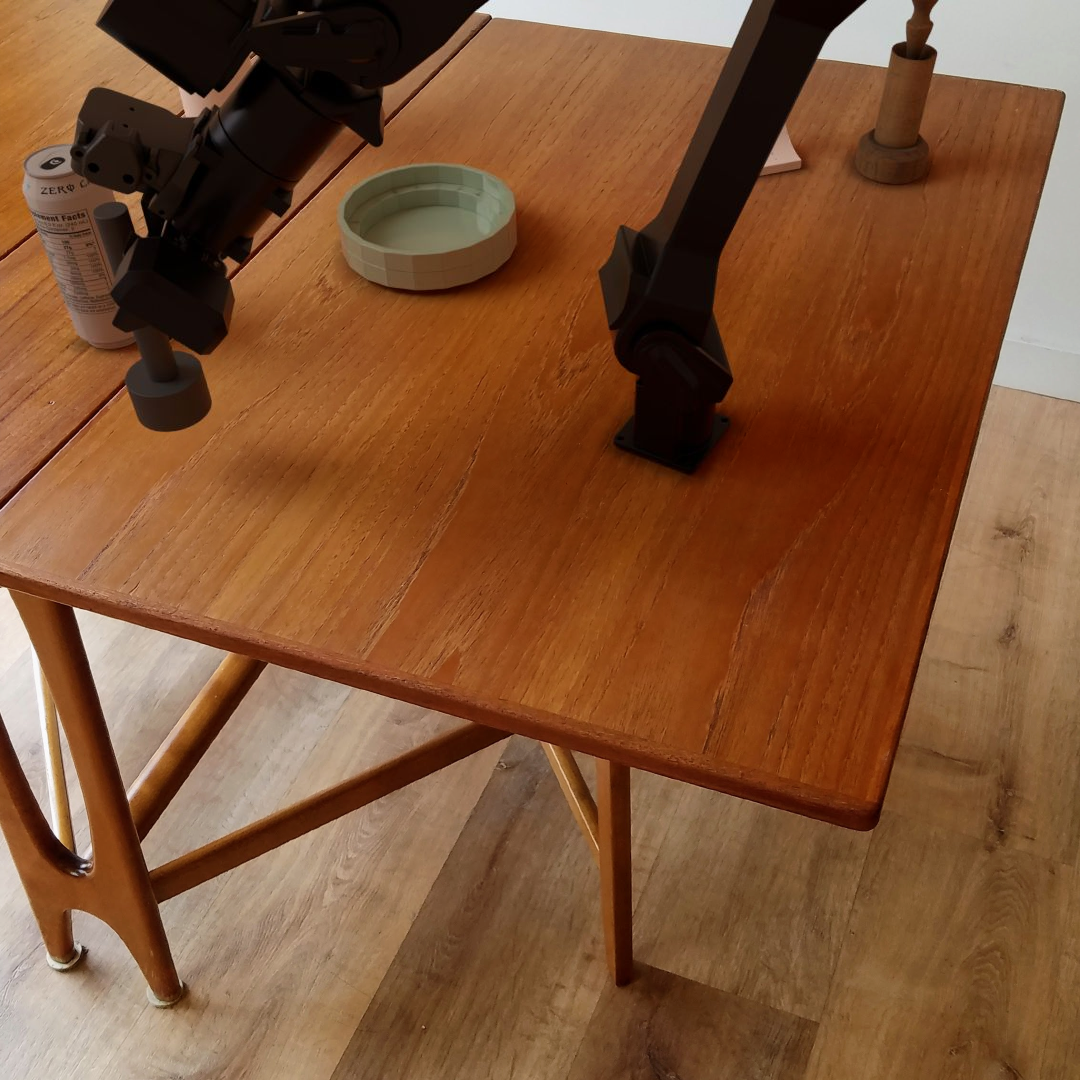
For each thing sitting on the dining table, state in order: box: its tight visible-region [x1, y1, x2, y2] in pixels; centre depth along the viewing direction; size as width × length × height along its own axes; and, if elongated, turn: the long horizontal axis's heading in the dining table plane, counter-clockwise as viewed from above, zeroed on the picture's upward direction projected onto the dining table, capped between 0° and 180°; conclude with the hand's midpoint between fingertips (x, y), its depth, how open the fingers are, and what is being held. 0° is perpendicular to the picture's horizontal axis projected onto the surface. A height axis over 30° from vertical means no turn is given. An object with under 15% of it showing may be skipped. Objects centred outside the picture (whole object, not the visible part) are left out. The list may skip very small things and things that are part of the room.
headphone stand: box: [759, 122, 802, 177], centre depth 107 cm, size 5×6×12 cm
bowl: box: [336, 162, 518, 291], centre depth 100 cm, size 15×15×4 cm
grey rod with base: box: [93, 201, 213, 433], centre depth 73 cm, size 5×5×15 cm
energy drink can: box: [21, 142, 136, 350], centre depth 89 cm, size 6×6×15 cm
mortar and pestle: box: [854, 0, 940, 185], centre depth 103 cm, size 7×6×18 cm
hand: (122, 316), depth 73 cm, fingers closed on grey rod with base
